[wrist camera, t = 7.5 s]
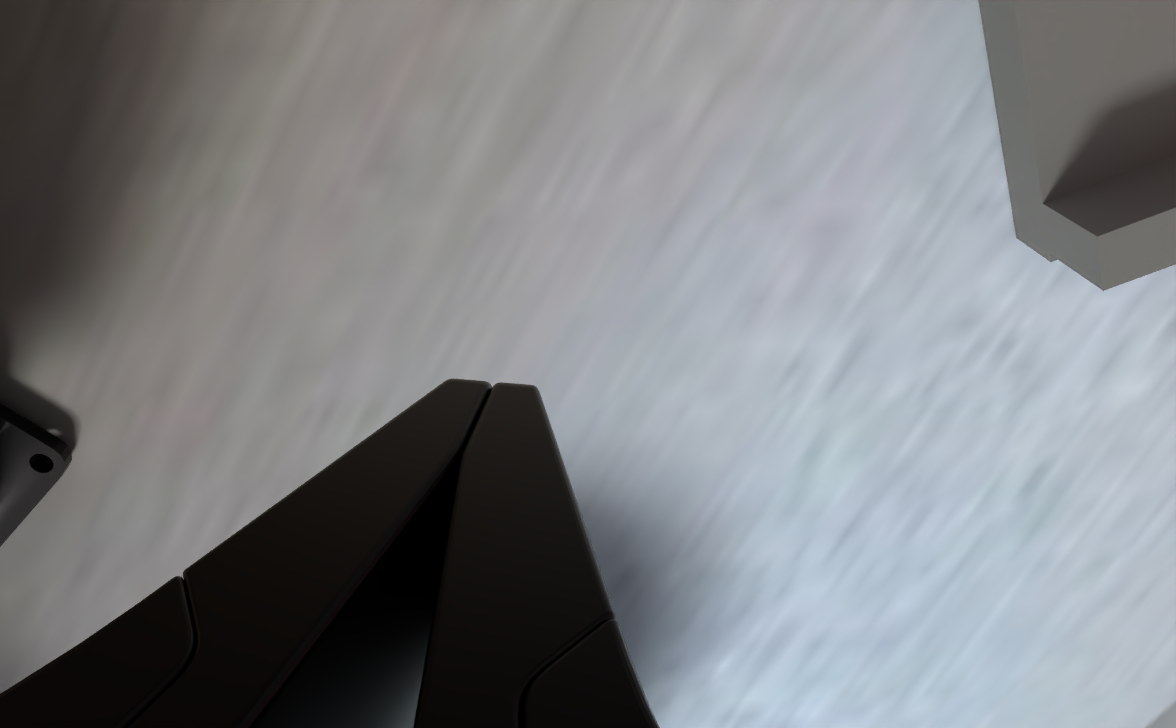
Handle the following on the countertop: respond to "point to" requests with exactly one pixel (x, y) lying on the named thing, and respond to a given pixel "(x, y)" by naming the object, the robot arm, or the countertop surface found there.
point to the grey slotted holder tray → (1088, 130)
